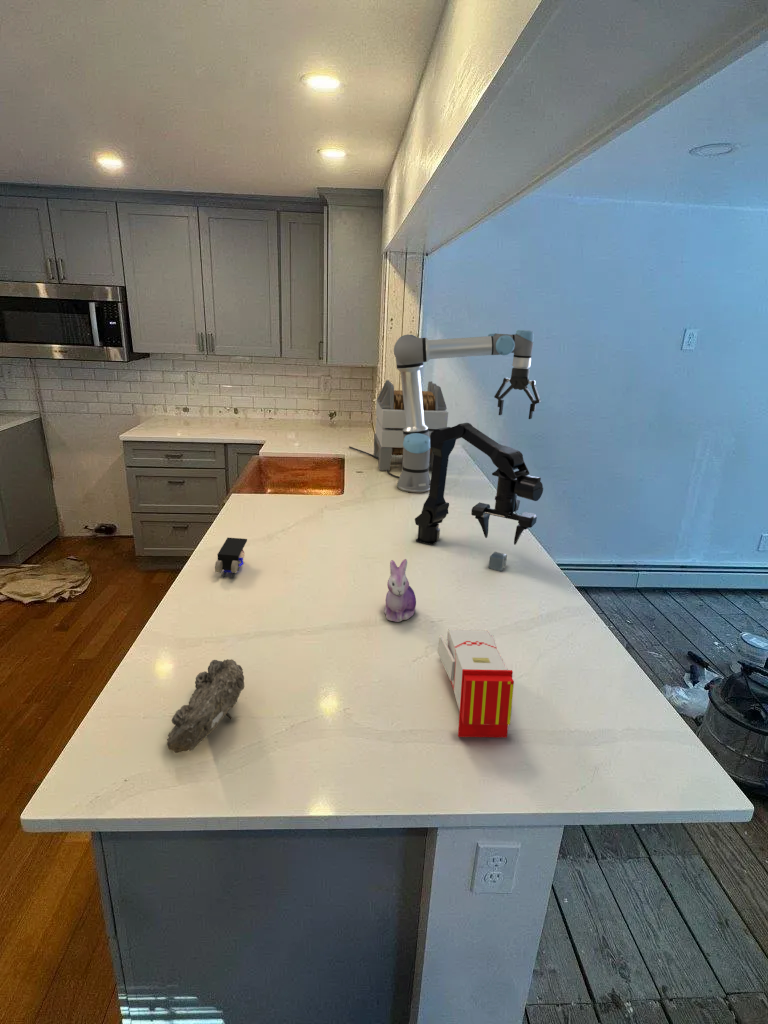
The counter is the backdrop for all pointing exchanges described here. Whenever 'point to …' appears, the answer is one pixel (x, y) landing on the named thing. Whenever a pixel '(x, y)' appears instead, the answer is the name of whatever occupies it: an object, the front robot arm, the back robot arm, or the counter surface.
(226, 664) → the fossil
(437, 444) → the front robot arm
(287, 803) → the counter surface
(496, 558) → the block
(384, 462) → the transformer
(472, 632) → the toy
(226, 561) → the figurine character
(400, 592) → the figurine
